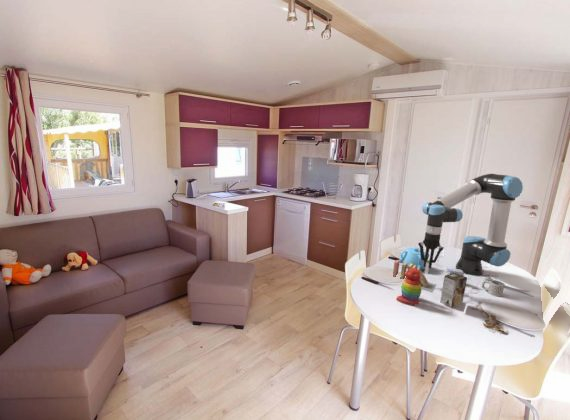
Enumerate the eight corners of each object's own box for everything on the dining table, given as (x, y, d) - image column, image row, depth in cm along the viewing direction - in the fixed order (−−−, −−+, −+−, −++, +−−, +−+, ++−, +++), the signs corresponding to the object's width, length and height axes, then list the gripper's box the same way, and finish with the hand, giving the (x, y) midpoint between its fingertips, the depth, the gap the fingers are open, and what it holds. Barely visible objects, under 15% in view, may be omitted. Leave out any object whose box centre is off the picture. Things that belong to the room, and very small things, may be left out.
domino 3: (413, 280, 177) (413, 263, 176) (410, 282, 173) (410, 266, 172) (410, 279, 178) (410, 263, 177) (407, 282, 174) (407, 265, 173)
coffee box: (450, 300, 158) (455, 272, 155) (462, 306, 153) (468, 277, 149) (439, 303, 154) (444, 275, 150) (450, 310, 149) (456, 280, 145)
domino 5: (428, 283, 172) (419, 267, 174) (426, 286, 168) (417, 270, 170) (426, 284, 173) (417, 268, 175) (424, 287, 169) (414, 271, 171)
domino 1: (392, 277, 179) (394, 262, 177) (394, 275, 183) (397, 259, 181) (395, 278, 179) (397, 262, 176) (397, 275, 182) (399, 260, 180)
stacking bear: (403, 293, 163) (408, 263, 159) (422, 301, 156) (428, 269, 152) (394, 300, 156) (399, 268, 152) (414, 308, 149) (419, 275, 145)
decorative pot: (431, 269, 198) (434, 249, 195) (418, 274, 188) (421, 254, 185) (408, 260, 210) (411, 242, 207) (395, 265, 201) (398, 246, 198)
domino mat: (436, 286, 173) (436, 284, 173) (431, 294, 164) (432, 292, 164) (391, 273, 188) (391, 271, 188) (384, 279, 179) (385, 278, 179)
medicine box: (458, 282, 180) (460, 269, 178) (461, 286, 175) (464, 272, 173) (444, 281, 180) (446, 268, 178) (447, 284, 176) (450, 271, 174)
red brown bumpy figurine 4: (405, 278, 180) (407, 262, 178) (402, 280, 176) (405, 265, 174) (402, 277, 181) (404, 261, 179) (399, 280, 177) (402, 264, 175)
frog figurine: (475, 317, 145) (476, 309, 144) (505, 324, 140) (506, 316, 139) (479, 329, 134) (481, 322, 133) (511, 338, 130) (513, 330, 129)
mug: (503, 293, 168) (505, 283, 167) (501, 297, 164) (503, 286, 162) (482, 287, 175) (484, 277, 174) (479, 291, 170) (482, 280, 169)
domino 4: (420, 281, 175) (415, 265, 175) (418, 284, 171) (413, 267, 171) (418, 281, 176) (413, 265, 176) (415, 284, 172) (410, 268, 172)
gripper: (418, 231, 165) (412, 271, 170) (445, 237, 158) (437, 278, 163) (422, 229, 171) (415, 267, 176) (447, 234, 164) (440, 274, 169)
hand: (426, 272), depth 170 cm, fingers closed
